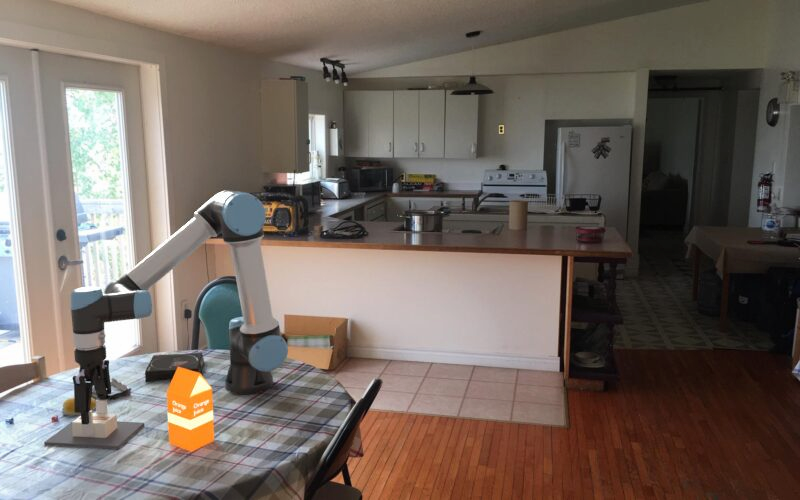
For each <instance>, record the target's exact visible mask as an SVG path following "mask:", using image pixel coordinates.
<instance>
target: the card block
mask: <svg viewBox="0 0 800 500" xmlns="http://www.w3.org/2000/svg"><path fill="white" fill-rule="evenodd" d="M92 414H93V428H94V434H93V435H82V423H81V415H79V416H78V417H77V418H75V419H76V420H75V419H74V420H72V421H73V422H72V421H71V422H72V429H73V436H77V437H97V438H106V437H107V436H109V435H110V434H111V433H112V432H113V431H114V430H116V429H117V421H118V419H117V414H116V413H108V414H100V413H97V412H96V413H95V412H92Z"/></svg>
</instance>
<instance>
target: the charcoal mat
mask: <svg viewBox="0 0 800 500" xmlns="http://www.w3.org/2000/svg"><path fill="white" fill-rule="evenodd" d="M76 419H77V418H75V419H74V420H76ZM74 420H72V421H70V423H68V424H67V425H65V426H64V427H63V428H61V429H60V430H58V432H56V433H54V434H53V435H51V437H49V438H48V439H47V440H45V441H44V443H43V444H44V446H54V447H55V446H56V447H73V448H74V447H75V448H76V447H77V448H91V449H92V448H94V449H97V448H98V449H110V450H111V449H113V450H119V449H120V448H121V447H122V446H123V445H124V444H125V443H127V442H128V441H129V440H130V439H131V438H132V437H134V435H135V434H136V433H137V432H139V431H140V430H141V429H142V428H143V427H144V426H145V423H144V422H134V421H118V420H117V429H116V430H114V431H113V432H112V433H111V434H110V435H109V436H107V437H106V438H97V437H77V436H73V429H72V422H73V421H74Z"/></svg>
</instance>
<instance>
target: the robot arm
mask: <svg viewBox="0 0 800 500" xmlns="http://www.w3.org/2000/svg"><path fill="white" fill-rule="evenodd" d="M266 214H267V212H266V209H265V206H264V204H263V203H262V201H261V200H260V199H259V198H257V196H255V195H253V194H251V193H249V192H245V191H238V190H234V189H225V190H222V191H220V192H218V193H216V194H214V196H212V197H211V198H210V199H209V200H207V201H206V202H205V203H204V204H203V205H201V207H199V208H198V209H197V210H196V211H195V212H194V214H193V218H191V219H190V220H189V221H188V222H186V224H184V225H183V226H182V227H181V228H179V229H178V230H177V231H176V232H175V233H173V234H172V235H171V236H170V237H169V238H168V239H166V240H165V241H164V242H163V243H161V244H160V245H159V246H158V247H157V248H155V249H154V250H153V251H152V252H151V253H149V254H148V255H147V256H145V257H144V258H143V259H142V260H140V262H139V263H137V264H135V266H133V268H131V269H130V270H129V271H127V272H126V273H125V274H124V275H122V276H121V277H120V278H119V279H115V280H112V281H110V282H108V284H106V286H105V288H104V293H103V290H102V288H101V287H99V286H84V287H83V286H82V287H78V288H75V289H73V290H72V291H71V294H70V315H71V323H72V324H71V325H72V326H71V327H72V343H73V347H74V349H73V352H74V361H75V363H76V364H78V365H79V371H78V374H77V375H73V376H72V382H73V393H74V395H73V398H74V408H75V413H81V414H80V416H81V423H82V435H93V434H94V428H93V414H92V413H93V411H91V410H90V406H91V397H92V398H93V396H92V392H93V391H92V389H93V387H94V388H95V391H94V392H96V394H97V397H98V398H97V397H96V398H97V399H95V401H96V408H95V411H96V413H100V414H109V412H108V401H107V399H110V398H111V395H112V386H111V383H110V382H111V376H110V369H109V367H110V360H109V359H107V347H106V344H105V343H106V333H105V323H110V322H118V321H127V320H128V321H129V320H139V319H144V318H148V317H150V316H151V315H152V312H153V301H152V295H151V293H150V291H149V290H150V289H151V288H152V287H153V286H154V285H155V284H157V283H158V282H159V281H160V280H161V279H163V278H164V277H166V276H167V275H168V273H170V272H171V271H172V270H173V269H174V268H176V267H177V266H178V265H179V264H181V263H182V262H183V261H184V260H186V258H187V257H189V256H190V255H191V254H192V253H194V252H195V251H196V250H198V248H200V246H202V245H203V244H204V243H205V242H206V241H208V240H209V239H211V238H212V237H213V238H217V237H218V236H219V235H221V234H222V239H223V243H225V244H227V245H228V246H229V247H230V252H231V259H232V264H233V270H234V276H235V281H236V287H237V293H238V297H239V301H240V310H241V315H242V316H239V317H235V318H232V319H231V320H230V321H229V324H228V326H229V327H228V331H229V358H230V365H229V367H228V369H227V370H228V371H227V374H226V378H225V382H224V384H225V389H226V390H227V392H229V393H232V394H237V395H252V394H259V393H263V392H265V391H268V390H269V389H271V388H272V387H273V386H274V377H273V374H272V371H275V370H277V369H278V368H279V367H281V366H282V365H283V363H284V362H285V361H286V360H287V357H288V353H289V346H288V343H287V342H286V340H285V339H284V338H283V337H282V334H281V329H280V321H279V320H277V319H276V318H274V317H273V311H272V305H271V300H270V295H269V288H268V282H267V276H266V271H265V270H266V269H265V264H264V259H263V252H262V245H261V241H262V239H263V238H264V236H265V232H264V231H265V230H264V225H265V222H266V219H267V217H266Z"/></svg>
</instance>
